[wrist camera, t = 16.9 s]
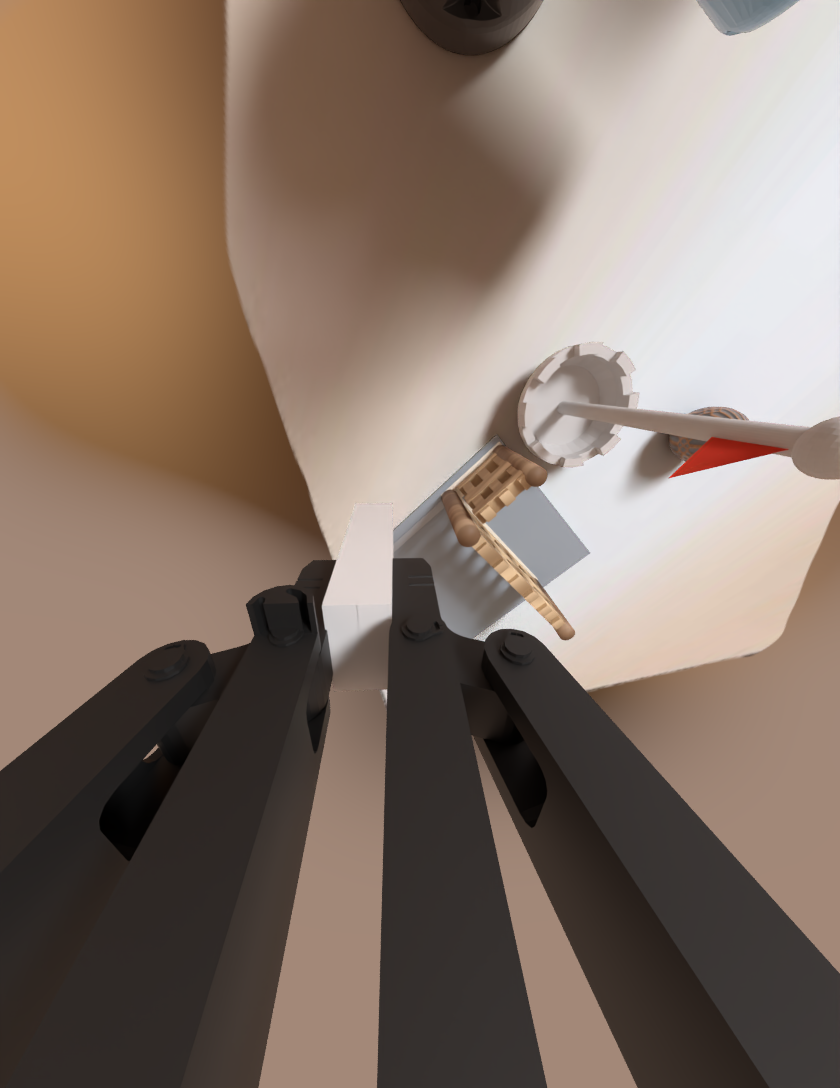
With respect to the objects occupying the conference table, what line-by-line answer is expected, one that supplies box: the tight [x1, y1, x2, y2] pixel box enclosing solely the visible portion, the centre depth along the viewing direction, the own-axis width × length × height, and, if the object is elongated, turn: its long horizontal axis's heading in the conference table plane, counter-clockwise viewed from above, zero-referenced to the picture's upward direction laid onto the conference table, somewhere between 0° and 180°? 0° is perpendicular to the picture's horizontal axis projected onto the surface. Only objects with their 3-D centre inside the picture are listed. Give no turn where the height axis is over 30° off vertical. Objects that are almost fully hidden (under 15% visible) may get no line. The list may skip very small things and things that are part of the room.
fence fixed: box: [441, 445, 547, 547], centre depth 38 cm, size 2×11×13 cm, turn 134°
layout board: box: [393, 435, 590, 639], centre depth 50 cm, size 25×30×1 cm
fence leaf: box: [464, 505, 575, 640], centre depth 43 cm, size 20×2×12 cm, turn 44°
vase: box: [669, 407, 749, 461], centre depth 39 cm, size 7×7×9 cm
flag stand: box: [517, 342, 840, 479], centre depth 27 cm, size 13×13×30 cm
